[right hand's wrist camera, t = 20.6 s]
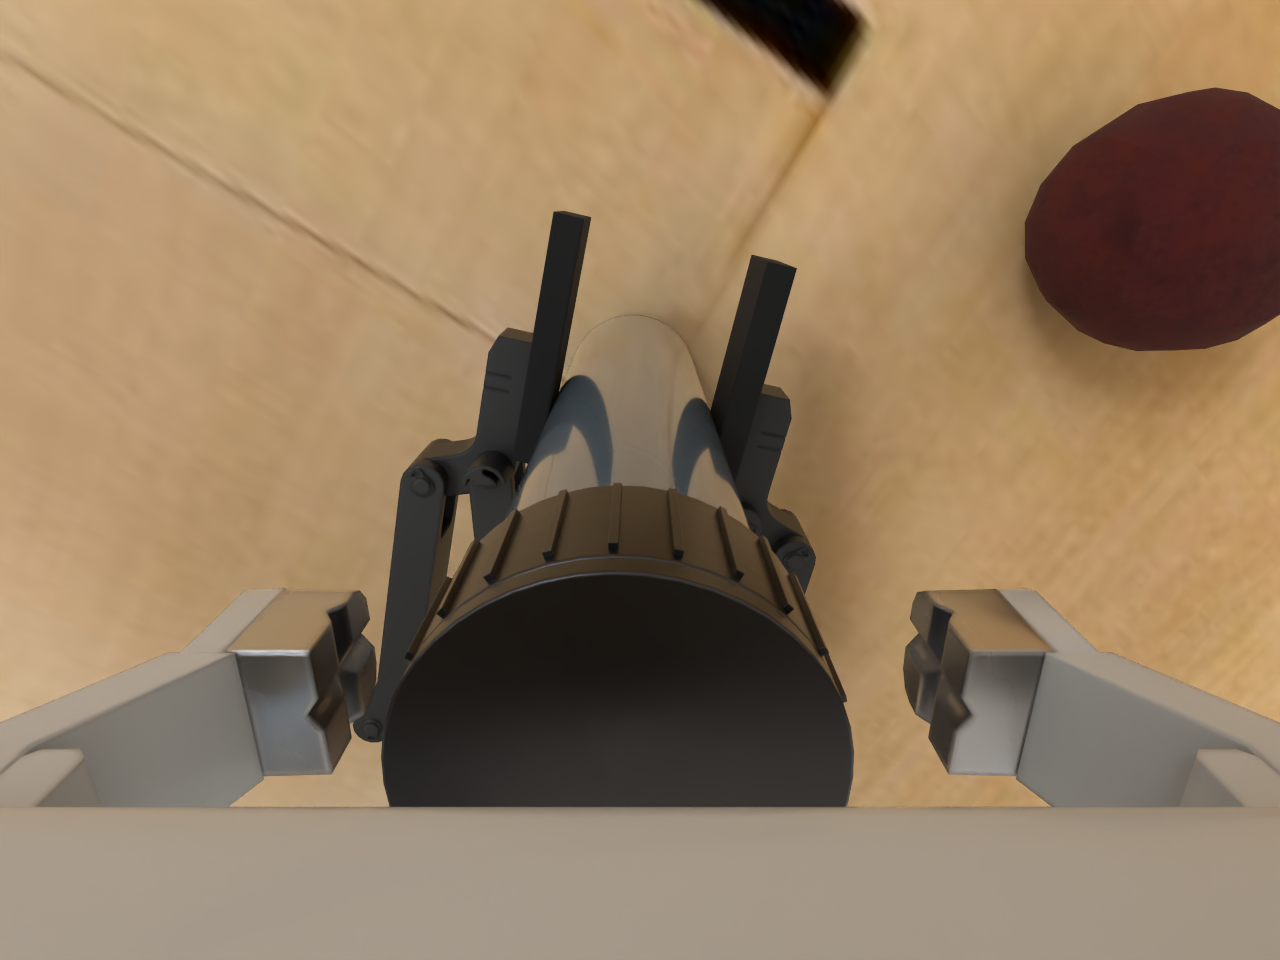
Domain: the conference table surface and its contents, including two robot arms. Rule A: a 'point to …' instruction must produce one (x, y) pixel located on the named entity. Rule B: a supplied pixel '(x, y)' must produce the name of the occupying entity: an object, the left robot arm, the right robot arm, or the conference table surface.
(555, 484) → the blue-grey bottle
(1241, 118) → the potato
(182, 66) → the conference table surface
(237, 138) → the conference table surface
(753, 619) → the lid
